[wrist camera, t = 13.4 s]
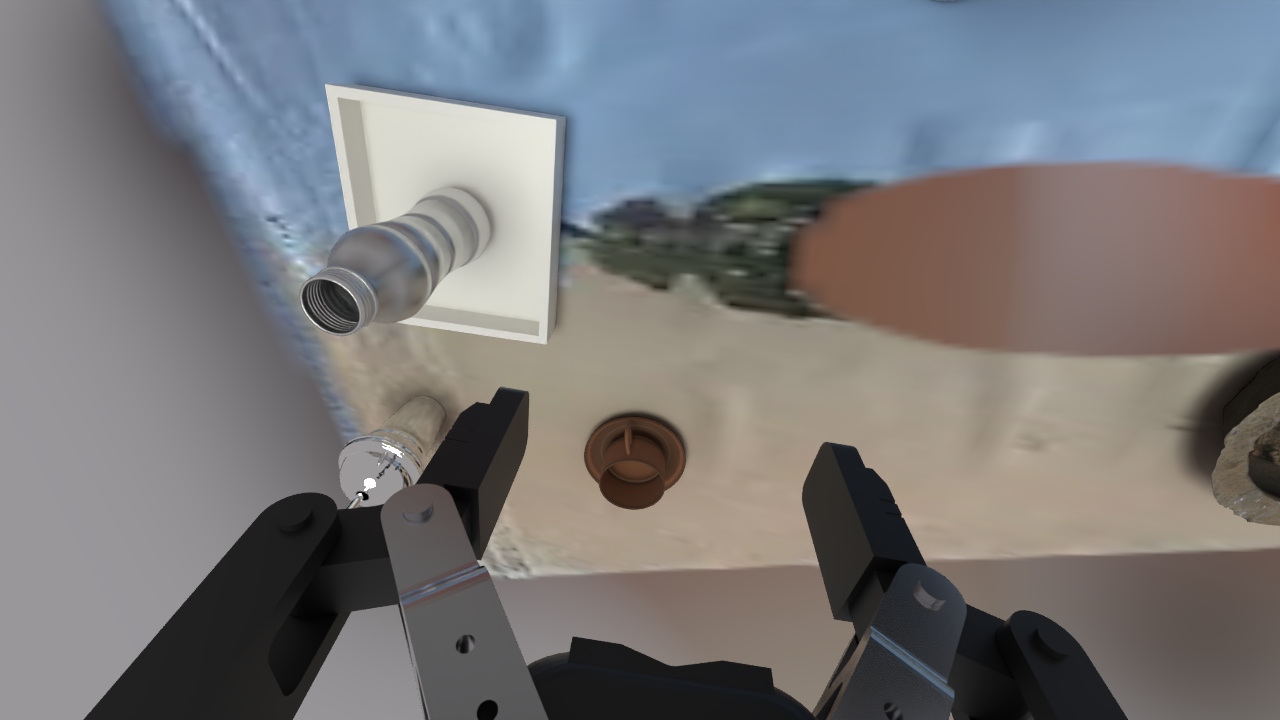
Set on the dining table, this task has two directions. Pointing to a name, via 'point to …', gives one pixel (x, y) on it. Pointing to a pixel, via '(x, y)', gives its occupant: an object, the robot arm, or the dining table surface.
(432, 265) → the plastic bottle
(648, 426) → the cup and saucer
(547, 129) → the tray
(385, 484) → the cup with straw
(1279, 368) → the stone bowl
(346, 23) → the dining table surface
